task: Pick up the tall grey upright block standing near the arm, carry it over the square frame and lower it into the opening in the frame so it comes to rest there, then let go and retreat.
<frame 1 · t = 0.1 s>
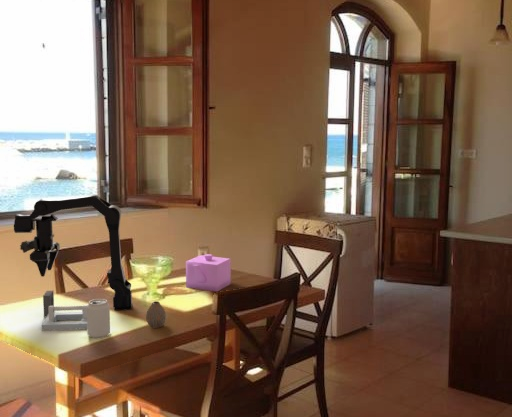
hand: (46, 273, 228), 15 cm above the table, fingers open, 9 cm apart
square frame: (68, 323, 216), on the table
teapot: (207, 286, 265), on the table
tall grey upright block: (49, 313, 226), on the table
vase: (156, 326, 214), on the table
can: (98, 335, 205), on the table
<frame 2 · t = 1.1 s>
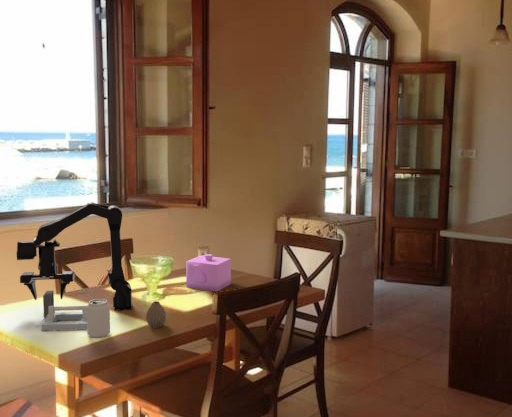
hand: (48, 299, 226), 5 cm above the table, fingers open, 9 cm apart
nothing on the table moved.
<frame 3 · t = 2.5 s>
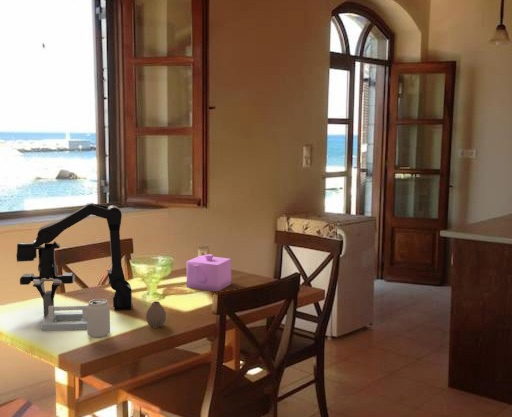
hand: (48, 300, 226), 5 cm above the table, fingers closed on tall grey upright block, 2 cm apart
tall grey upright block: (49, 313, 226), on the table, touching gripper
everything else where it was.
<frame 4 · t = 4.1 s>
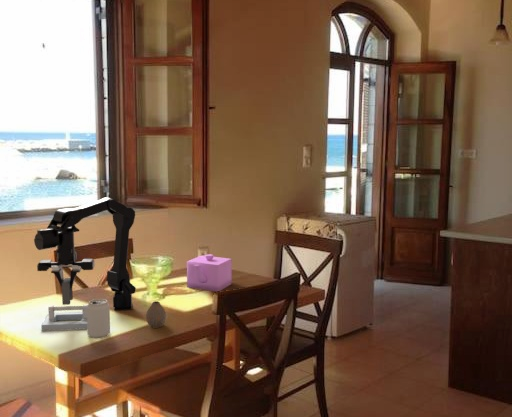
hand: (67, 288, 214), 13 cm above the table, fingers closed on tall grey upright block, 2 cm apart
tall grey upright block: (67, 301, 215), point 8 cm above the table, touching gripper
everything else where it was.
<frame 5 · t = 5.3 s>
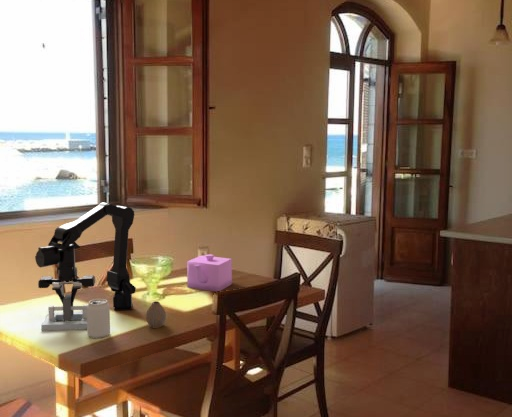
hand: (68, 304, 215), 7 cm above the table, fingers closed on tall grey upright block, 2 cm apart
tall grey upright block: (68, 318, 216), point 2 cm above the table, touching gripper
everything else where it was.
when the fingers open (7 cm above the table, at t = 5.7 s): tall grey upright block drops 2 cm, resting on square frame.
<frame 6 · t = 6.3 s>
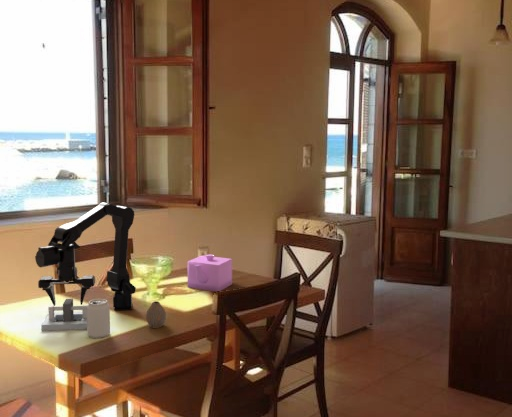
hand: (68, 305, 215), 7 cm above the table, fingers open, 9 cm apart
tall grey upright block: (68, 322, 216), resting on square frame
everything else where it was.
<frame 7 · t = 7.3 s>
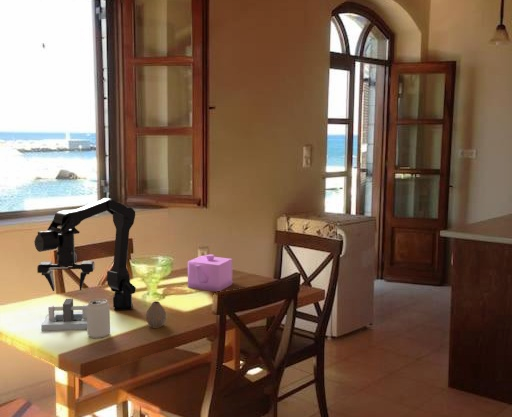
hand: (67, 290, 214), 12 cm above the table, fingers open, 9 cm apart
nothing on the table moved.
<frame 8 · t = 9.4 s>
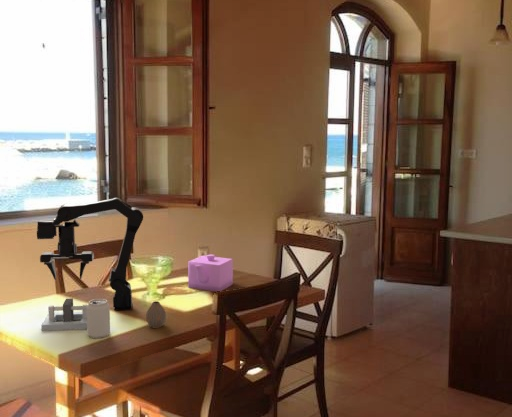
hand: (68, 279, 227), 13 cm above the table, fingers open, 9 cm apart
at the end: tall grey upright block 0.1 cm off-centre on the square frame, point 0.3 cm above the square frame's base; tall grey upright block touching square frame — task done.
